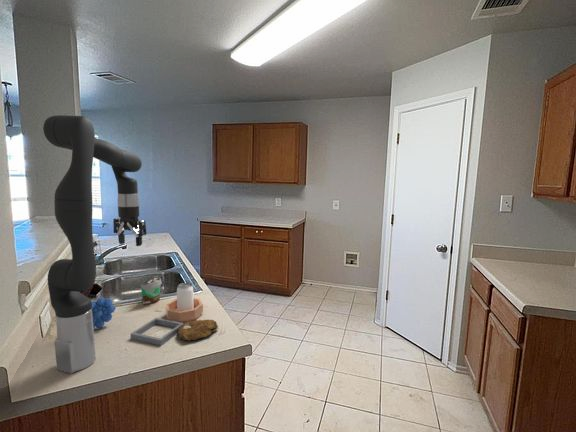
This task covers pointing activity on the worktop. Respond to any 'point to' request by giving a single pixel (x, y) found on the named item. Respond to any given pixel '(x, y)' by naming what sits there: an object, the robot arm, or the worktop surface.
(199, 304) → the bowl
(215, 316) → the worktop surface
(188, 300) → the can
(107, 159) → the robot arm
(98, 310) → the grapes
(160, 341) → the tray
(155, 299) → the food container
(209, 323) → the decorative rock
